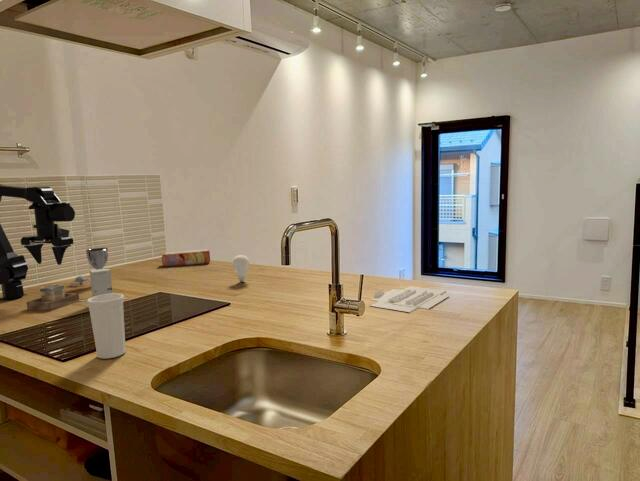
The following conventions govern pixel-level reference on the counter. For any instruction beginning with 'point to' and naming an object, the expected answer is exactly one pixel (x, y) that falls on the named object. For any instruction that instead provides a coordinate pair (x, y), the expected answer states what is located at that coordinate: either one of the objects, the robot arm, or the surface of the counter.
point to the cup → (108, 324)
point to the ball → (80, 279)
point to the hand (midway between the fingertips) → (49, 264)
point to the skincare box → (101, 282)
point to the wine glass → (97, 257)
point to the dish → (77, 284)
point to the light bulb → (241, 266)
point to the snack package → (186, 258)
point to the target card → (84, 299)
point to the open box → (52, 303)
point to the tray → (408, 298)
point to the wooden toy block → (52, 293)
